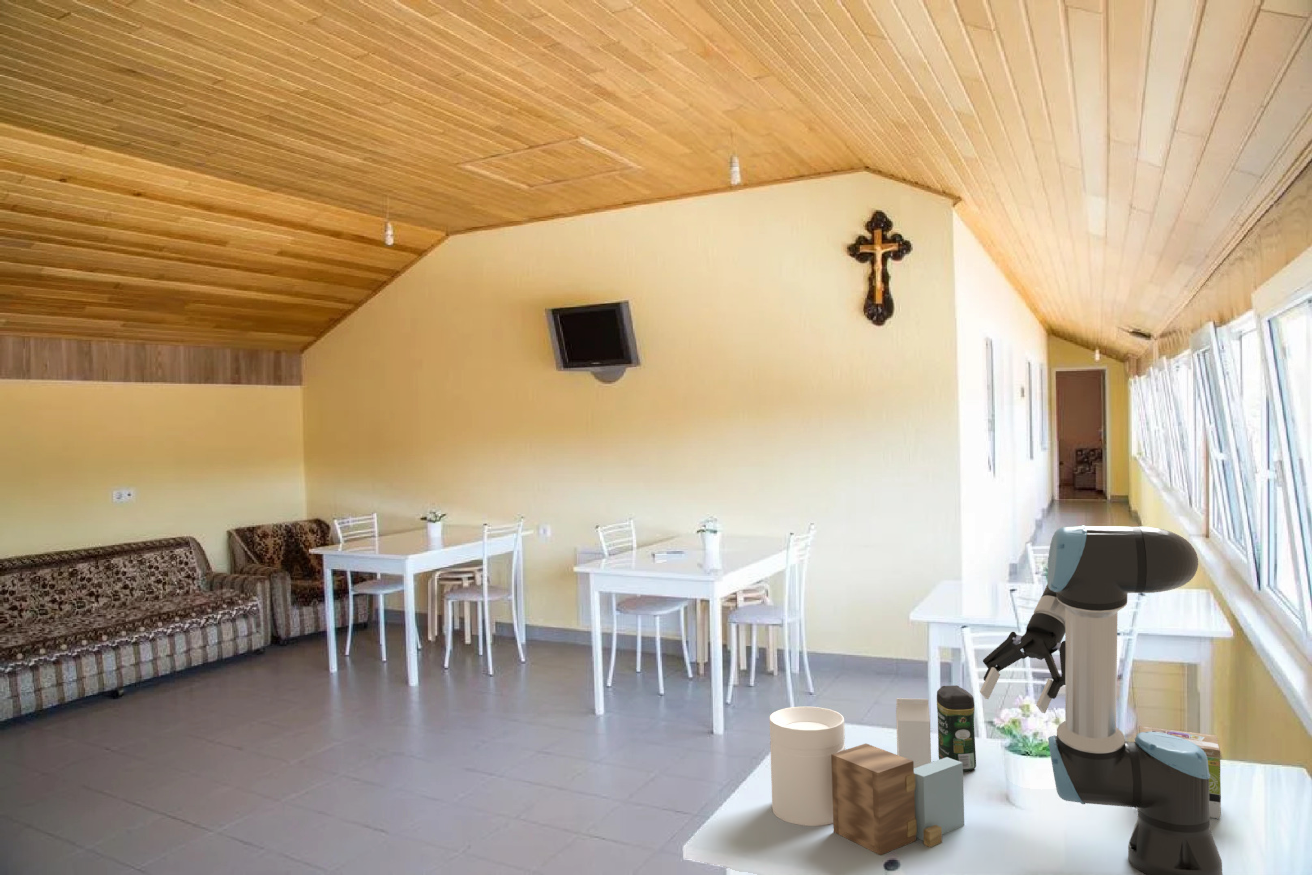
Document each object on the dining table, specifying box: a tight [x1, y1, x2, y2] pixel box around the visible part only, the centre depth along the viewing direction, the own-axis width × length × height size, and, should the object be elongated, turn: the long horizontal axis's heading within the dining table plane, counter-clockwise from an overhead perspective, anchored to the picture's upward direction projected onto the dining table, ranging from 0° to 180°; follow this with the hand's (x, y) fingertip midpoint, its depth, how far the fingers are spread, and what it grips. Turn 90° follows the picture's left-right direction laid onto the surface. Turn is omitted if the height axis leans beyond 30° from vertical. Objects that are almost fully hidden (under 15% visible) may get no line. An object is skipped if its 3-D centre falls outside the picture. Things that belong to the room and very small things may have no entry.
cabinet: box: [831, 743, 943, 856], centre depth 186 cm, size 16×14×16 cm
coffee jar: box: [936, 684, 977, 772], centre depth 222 cm, size 10×8×19 cm
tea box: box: [1138, 725, 1222, 820], centre depth 196 cm, size 15×10×15 cm
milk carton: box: [895, 697, 932, 768], centre depth 214 cm, size 7×7×19 cm
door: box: [914, 757, 965, 842], centre depth 188 cm, size 4×12×13 cm, turn 124°
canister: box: [769, 706, 846, 827], centre depth 200 cm, size 16×16×20 cm
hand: (1011, 702), depth 197 cm, fingers open, 13 cm apart
